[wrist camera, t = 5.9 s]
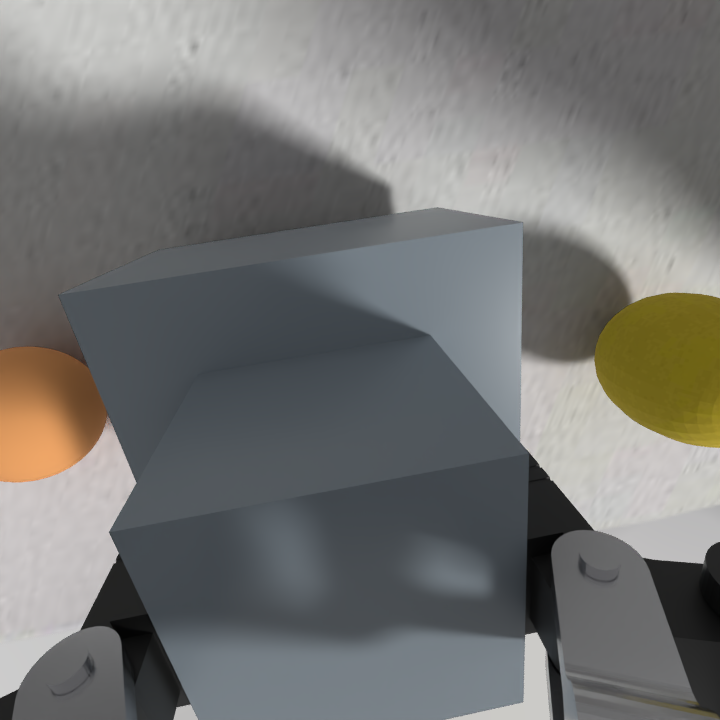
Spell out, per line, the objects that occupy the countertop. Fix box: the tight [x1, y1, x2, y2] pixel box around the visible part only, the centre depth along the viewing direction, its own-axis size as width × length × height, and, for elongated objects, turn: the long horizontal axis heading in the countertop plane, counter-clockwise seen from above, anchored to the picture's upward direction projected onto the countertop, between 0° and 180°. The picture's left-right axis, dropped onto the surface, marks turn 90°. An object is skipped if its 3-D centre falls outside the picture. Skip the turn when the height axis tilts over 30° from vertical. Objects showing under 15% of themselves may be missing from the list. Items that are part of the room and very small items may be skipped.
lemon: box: [594, 293, 720, 448], centre depth 17 cm, size 6×6×8 cm
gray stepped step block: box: [58, 207, 529, 720], centre depth 12 cm, size 10×10×12 cm
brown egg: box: [0, 347, 107, 482], centre depth 16 cm, size 5×5×5 cm
